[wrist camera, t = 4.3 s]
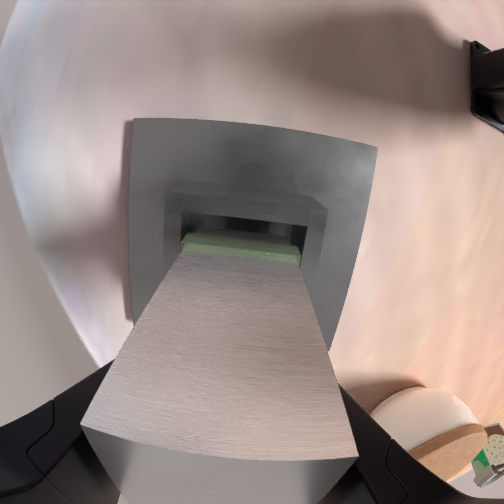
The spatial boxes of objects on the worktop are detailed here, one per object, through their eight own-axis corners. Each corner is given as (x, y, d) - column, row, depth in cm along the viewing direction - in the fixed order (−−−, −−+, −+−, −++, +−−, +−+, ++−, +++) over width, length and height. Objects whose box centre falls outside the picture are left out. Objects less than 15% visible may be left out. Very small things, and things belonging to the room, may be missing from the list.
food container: (444, 453, 30) (463, 497, 20) (468, 429, 28) (492, 475, 18) (481, 444, 31) (499, 479, 21) (502, 422, 29) (523, 458, 19)
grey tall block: (291, 233, 13) (371, 450, 3) (276, 320, 15) (297, 528, 5) (195, 222, 13) (68, 414, 3) (191, 310, 14) (128, 509, 5)
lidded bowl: (392, 356, 21) (445, 459, 11) (469, 372, 23) (515, 441, 12) (320, 439, 25) (335, 528, 15) (402, 443, 27) (427, 510, 16)
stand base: (371, 147, 16) (411, 149, 11) (326, 342, 21) (341, 390, 16) (140, 119, 15) (100, 112, 11) (138, 321, 20) (113, 364, 15)
